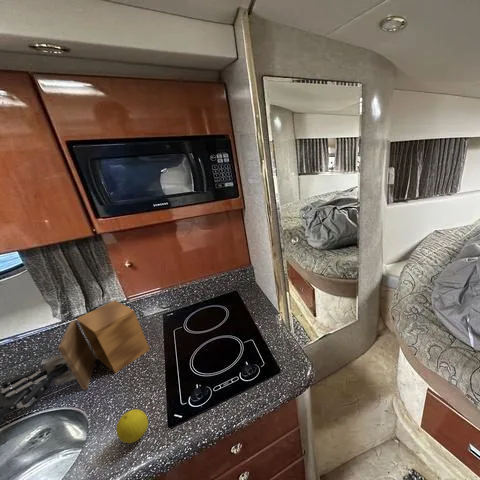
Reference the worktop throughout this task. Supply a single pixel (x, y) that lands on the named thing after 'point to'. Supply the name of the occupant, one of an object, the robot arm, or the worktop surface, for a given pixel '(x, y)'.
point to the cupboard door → (73, 357)
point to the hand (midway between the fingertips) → (64, 365)
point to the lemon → (132, 426)
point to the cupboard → (114, 335)
